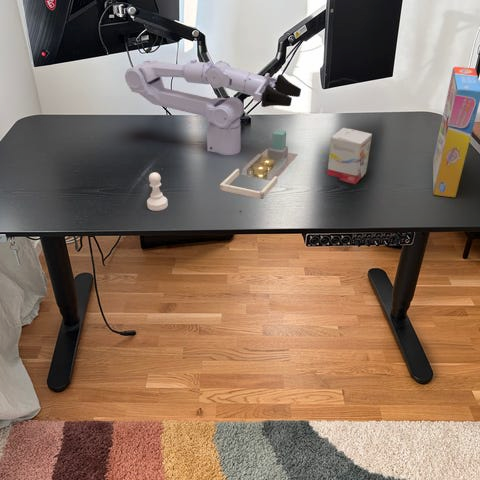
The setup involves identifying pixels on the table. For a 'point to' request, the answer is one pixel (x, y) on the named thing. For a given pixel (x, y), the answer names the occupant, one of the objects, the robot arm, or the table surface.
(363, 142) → the ink box
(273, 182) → the tray
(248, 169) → the slotted rail
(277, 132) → the teal and gray box
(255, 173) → the gold round piece
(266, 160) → the gold knob
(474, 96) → the game box
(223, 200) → the table surface
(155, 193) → the chess pawn
